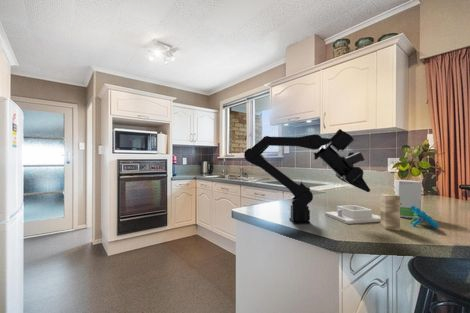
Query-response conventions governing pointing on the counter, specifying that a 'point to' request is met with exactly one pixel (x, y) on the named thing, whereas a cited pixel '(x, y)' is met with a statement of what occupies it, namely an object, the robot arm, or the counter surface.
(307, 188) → the robot arm
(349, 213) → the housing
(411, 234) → the counter surface
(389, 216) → the block
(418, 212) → the blue cog crank toy
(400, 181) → the skincare box
